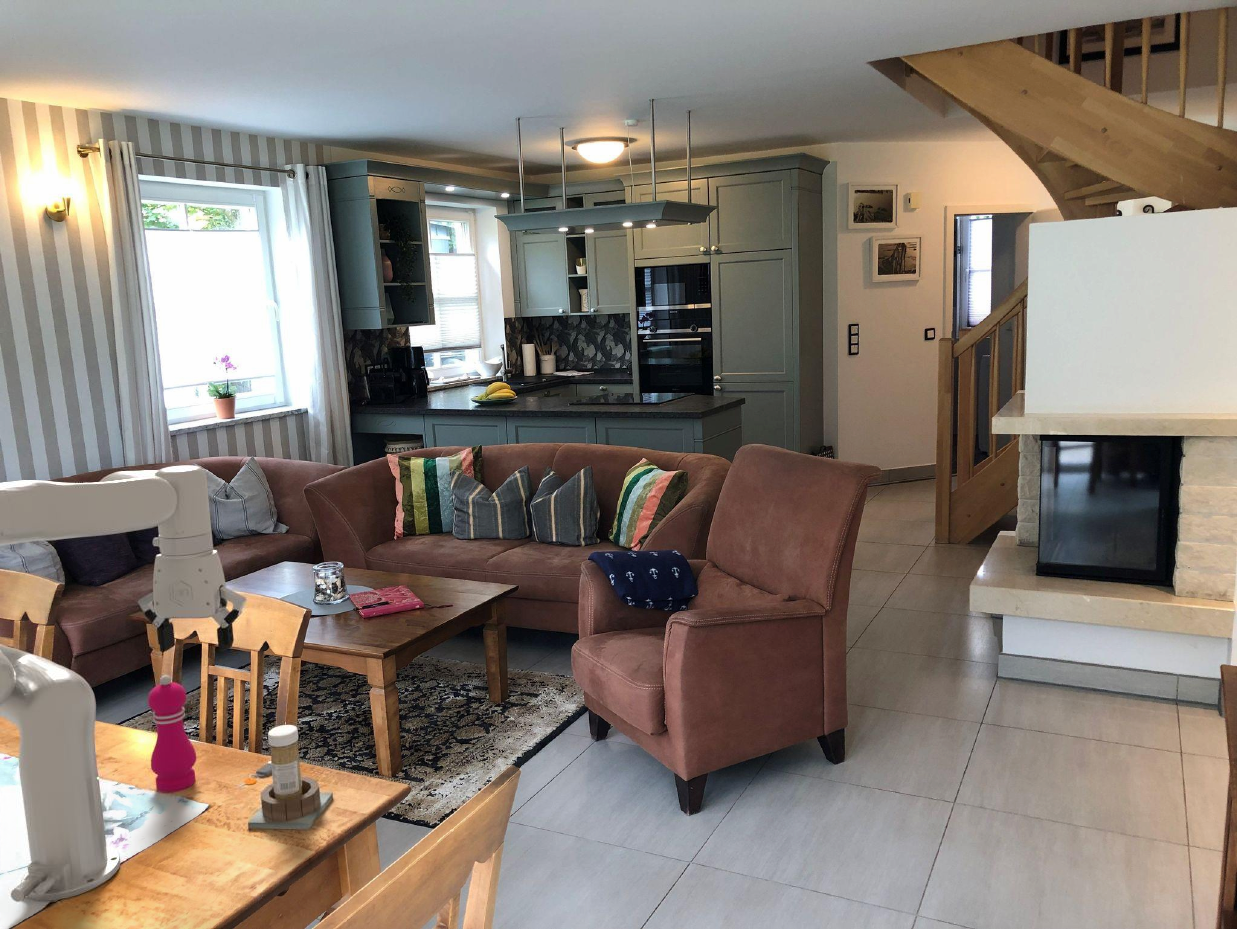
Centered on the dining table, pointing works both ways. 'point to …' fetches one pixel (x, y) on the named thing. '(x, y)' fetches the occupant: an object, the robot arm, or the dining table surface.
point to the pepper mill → (171, 738)
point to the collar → (291, 808)
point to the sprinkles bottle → (285, 762)
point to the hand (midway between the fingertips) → (196, 649)
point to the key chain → (259, 774)
